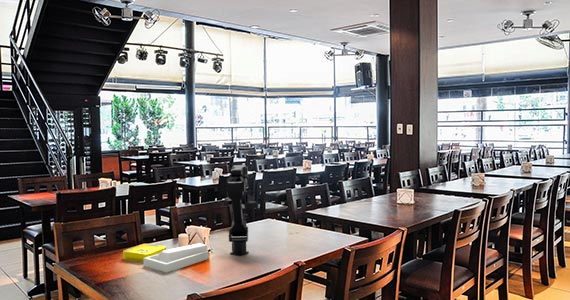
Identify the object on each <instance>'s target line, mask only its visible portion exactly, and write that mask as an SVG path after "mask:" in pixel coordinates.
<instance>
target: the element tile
mask: <svg viewBox="0 0 570 300" xmlns="http://www.w3.org/2000/svg"><path fill="white" fill-rule="evenodd" d="M163 250H167V246H166V245H158V244H153V243H152V244H151V243H142V244H141V243H140V244H139V245H136V246H132V247H129V248H126V249H124V250H123V251H122V260H124V261H130V262H135V263H141V264H142V263H143V264H144V259H143V258H146V257H149V256H153V255H156V254H159V253H161V252H162V251H163Z"/></svg>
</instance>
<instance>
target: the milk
mask: <svg viewBox="0 0 570 300" xmlns="http://www.w3.org/2000/svg"><path fill="white" fill-rule="evenodd" d="M204 251H208V245H207V244H204V243H202V242H198V243H193V244H189V245H184V246H183V245H182V246H178V247H174V248H169V249H167V248H166V250H163V251H162V252H161V253H159V261H162V262H165V263H168V262H172V261H175V260H178V259H181V258H185V257H188V256H191V255H194V254H197V253H201V252H204Z"/></svg>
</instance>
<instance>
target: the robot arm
mask: <svg viewBox="0 0 570 300" xmlns="http://www.w3.org/2000/svg"><path fill="white" fill-rule="evenodd" d="M247 178H248V179H249V170H248V166H247V165H246V164H234V165H232V167H231V170H230V174H229V175H228V176H227V178H226V179H225V193H226V196H227V198H228V199H225V200H223V206H224V207H229V206H232V207H231V209H232V216H233V219H232V222H231V226H230V228H229V230H228V242H230V243H231V252H230V253H229V254H230V255H234V256H238V257H241V256H243V255H246V254H249V253H250V252H249V251H247V242H249V226H247V220H246V218H245V217H244V216H245V214H246V211H247V210H251V209H256V208H259V203H258V202H257V201H255V196H254V195H252V194H249V191H247V185H248V179H247ZM233 179H235V180H234V181H232V180H233Z"/></svg>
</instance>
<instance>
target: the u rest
mask: <svg viewBox="0 0 570 300" xmlns="http://www.w3.org/2000/svg"><path fill="white" fill-rule="evenodd" d="M209 255H210V254H209V251H208V250H207V251H204V252H201V253H197V254H194V255H191V256H188V257H185V258H181V259H178V260H175V261H172V262H168V263H165V262H162V261H159V254H156V255H153V256H149V257H146V258H143V259H144V263H143V267H146V268H150V269H153V270H156V271H160V272H162V273H165V274H166V273H170V272H174V271H176V270H179V269H182V268H184V267H188V266H192V265H195V264H196V263H197V264H198V263H201V262H203V261H206V260H209V259H210V257H209Z"/></svg>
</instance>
